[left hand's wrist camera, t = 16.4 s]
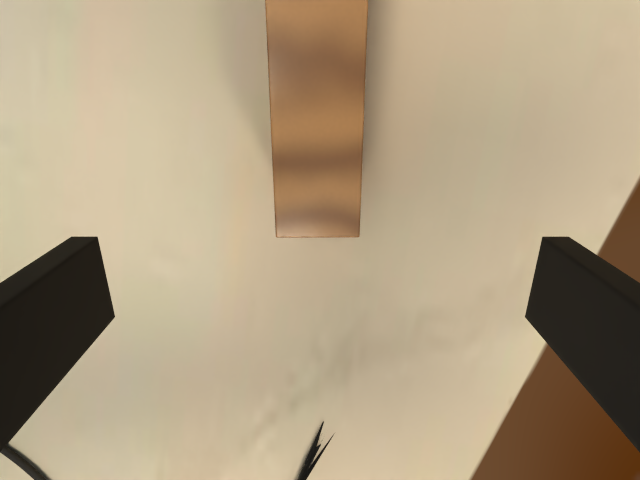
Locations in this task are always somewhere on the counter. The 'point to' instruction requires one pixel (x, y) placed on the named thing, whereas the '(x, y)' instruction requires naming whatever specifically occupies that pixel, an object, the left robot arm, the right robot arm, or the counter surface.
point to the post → (317, 114)
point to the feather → (311, 458)
